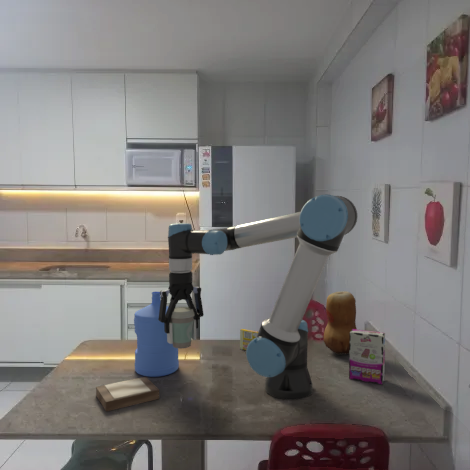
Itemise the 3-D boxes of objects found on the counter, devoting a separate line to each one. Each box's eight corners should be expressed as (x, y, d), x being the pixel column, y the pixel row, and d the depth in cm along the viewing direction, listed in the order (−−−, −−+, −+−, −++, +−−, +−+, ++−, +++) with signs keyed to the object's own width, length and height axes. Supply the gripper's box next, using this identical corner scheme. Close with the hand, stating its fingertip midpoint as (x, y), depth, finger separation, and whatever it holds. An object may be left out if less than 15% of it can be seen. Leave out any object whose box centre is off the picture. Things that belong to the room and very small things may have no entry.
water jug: (187, 367, 157) (187, 291, 155) (157, 381, 144) (156, 299, 142) (156, 358, 166) (155, 286, 164) (125, 371, 153) (124, 293, 151)
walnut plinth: (159, 398, 131) (159, 389, 131) (106, 411, 123) (106, 401, 123) (145, 384, 142) (145, 375, 141) (96, 395, 133) (96, 386, 133)
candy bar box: (384, 379, 146) (385, 332, 145) (382, 385, 142) (384, 336, 141) (351, 373, 151) (352, 328, 150) (348, 379, 147) (349, 331, 146)
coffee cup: (190, 350, 136) (189, 313, 135) (164, 349, 137) (164, 312, 136) (198, 342, 144) (197, 306, 143) (173, 341, 146) (173, 306, 145)
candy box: (277, 354, 171) (277, 334, 170) (275, 356, 169) (275, 335, 169) (242, 347, 179) (242, 328, 179) (239, 349, 177) (239, 329, 177)
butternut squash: (317, 349, 177) (318, 289, 175) (347, 346, 180) (348, 287, 179) (334, 361, 163) (335, 296, 162) (365, 358, 167) (366, 294, 165)
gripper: (203, 267, 147) (204, 332, 149) (146, 272, 137) (147, 342, 138) (214, 269, 141) (214, 338, 142) (154, 275, 131) (156, 349, 132)
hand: (181, 340), depth 140 cm, fingers closed on coffee cup, 8 cm apart
